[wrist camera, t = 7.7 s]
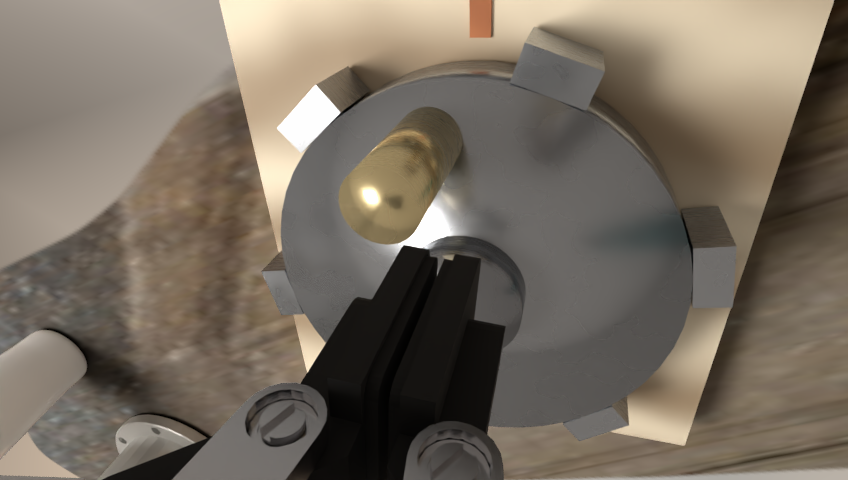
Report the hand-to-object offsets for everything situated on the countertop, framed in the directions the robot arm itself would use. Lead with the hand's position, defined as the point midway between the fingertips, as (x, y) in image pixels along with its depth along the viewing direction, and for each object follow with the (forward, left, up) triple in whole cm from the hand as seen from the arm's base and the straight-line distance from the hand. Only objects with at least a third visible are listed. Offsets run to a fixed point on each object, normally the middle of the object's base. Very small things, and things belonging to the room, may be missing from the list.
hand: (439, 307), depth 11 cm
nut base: (-6, +1, -14) cm, 15 cm away
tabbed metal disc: (-6, +1, -11) cm, 13 cm away
